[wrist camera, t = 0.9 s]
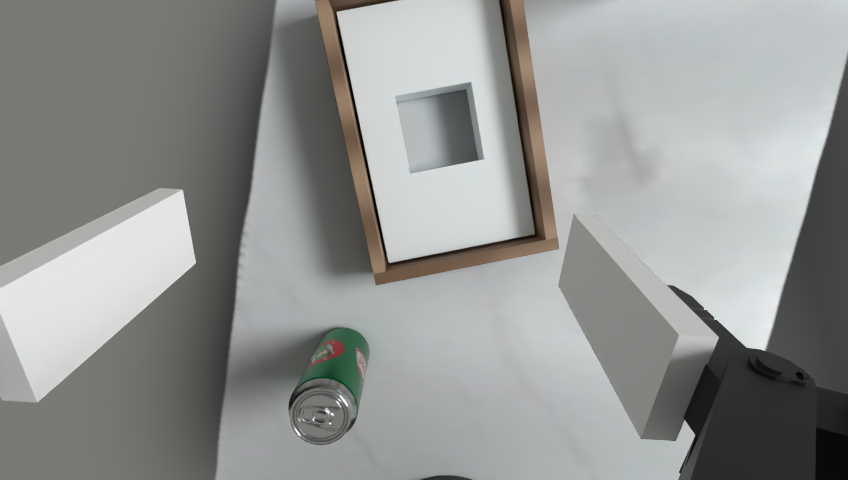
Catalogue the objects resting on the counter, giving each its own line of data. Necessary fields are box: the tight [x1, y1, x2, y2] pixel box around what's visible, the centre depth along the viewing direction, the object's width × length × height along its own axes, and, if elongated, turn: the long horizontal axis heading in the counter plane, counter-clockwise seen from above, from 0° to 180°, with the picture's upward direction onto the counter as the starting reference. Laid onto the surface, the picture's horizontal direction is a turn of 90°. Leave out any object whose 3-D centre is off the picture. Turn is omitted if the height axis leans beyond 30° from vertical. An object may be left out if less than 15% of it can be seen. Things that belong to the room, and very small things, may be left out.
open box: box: [315, 0, 559, 285], centre depth 37 cm, size 24×16×5 cm, turn 11°
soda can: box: [288, 328, 369, 445], centre depth 36 cm, size 5×5×12 cm
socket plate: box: [337, 0, 535, 263], centre depth 38 cm, size 21×13×3 cm, turn 11°
